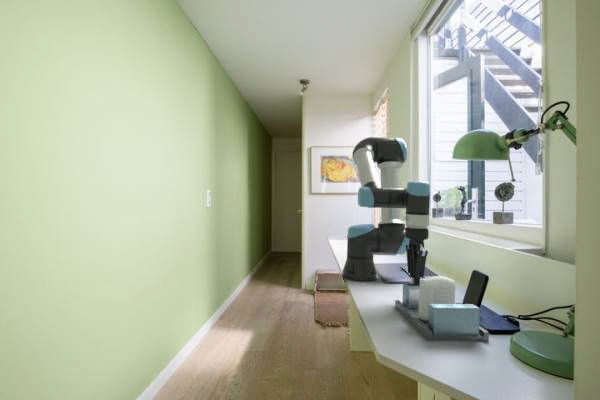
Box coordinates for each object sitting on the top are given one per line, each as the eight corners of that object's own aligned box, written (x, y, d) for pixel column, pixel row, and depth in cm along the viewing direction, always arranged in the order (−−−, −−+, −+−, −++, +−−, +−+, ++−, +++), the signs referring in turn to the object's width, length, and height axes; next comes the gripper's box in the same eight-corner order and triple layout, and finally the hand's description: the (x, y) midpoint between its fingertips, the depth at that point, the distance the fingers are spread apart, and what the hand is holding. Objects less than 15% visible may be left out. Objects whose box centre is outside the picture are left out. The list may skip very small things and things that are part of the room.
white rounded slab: (447, 315, 96) (448, 274, 96) (456, 320, 92) (458, 278, 92) (415, 316, 94) (417, 274, 94) (423, 322, 90) (425, 278, 90)
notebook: (440, 280, 143) (424, 269, 164) (440, 276, 143) (424, 266, 164) (411, 278, 144) (399, 268, 165) (411, 275, 144) (399, 265, 165)
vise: (395, 306, 105) (395, 282, 105) (442, 307, 106) (443, 283, 106) (427, 340, 81) (428, 309, 81) (488, 340, 82) (489, 309, 82)
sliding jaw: (402, 304, 104) (402, 283, 104) (438, 305, 105) (439, 283, 105) (405, 308, 101) (406, 286, 101) (442, 308, 102) (443, 286, 101)
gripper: (399, 225, 115) (397, 290, 115) (413, 228, 102) (411, 302, 102) (419, 225, 115) (417, 290, 116) (436, 229, 102) (434, 302, 103)
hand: (414, 296), depth 109 cm, fingers closed
